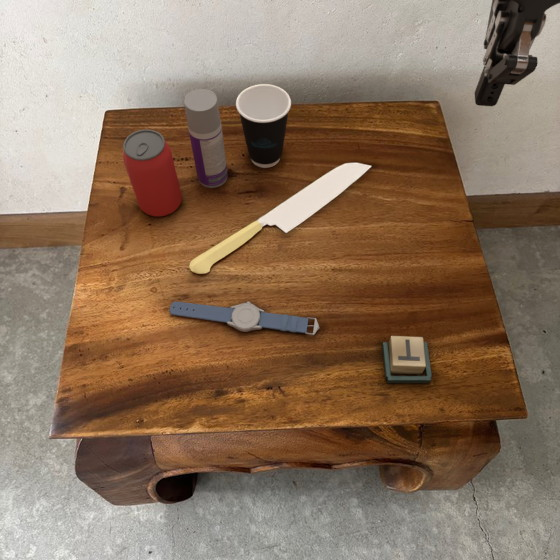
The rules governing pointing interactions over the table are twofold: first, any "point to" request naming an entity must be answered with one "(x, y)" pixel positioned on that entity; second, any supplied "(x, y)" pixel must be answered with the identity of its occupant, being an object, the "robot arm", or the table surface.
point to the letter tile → (406, 355)
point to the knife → (286, 212)
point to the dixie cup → (264, 122)
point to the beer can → (152, 172)
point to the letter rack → (406, 378)
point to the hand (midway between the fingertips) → (484, 100)
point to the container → (206, 137)
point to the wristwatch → (244, 317)
